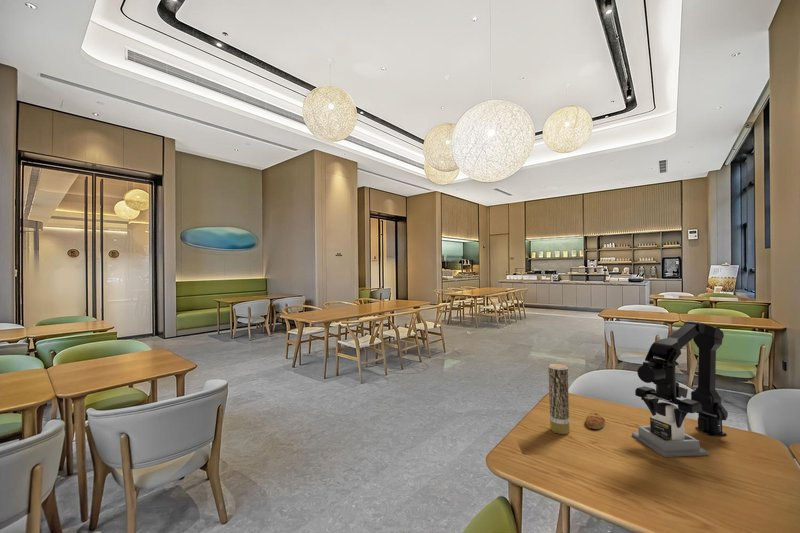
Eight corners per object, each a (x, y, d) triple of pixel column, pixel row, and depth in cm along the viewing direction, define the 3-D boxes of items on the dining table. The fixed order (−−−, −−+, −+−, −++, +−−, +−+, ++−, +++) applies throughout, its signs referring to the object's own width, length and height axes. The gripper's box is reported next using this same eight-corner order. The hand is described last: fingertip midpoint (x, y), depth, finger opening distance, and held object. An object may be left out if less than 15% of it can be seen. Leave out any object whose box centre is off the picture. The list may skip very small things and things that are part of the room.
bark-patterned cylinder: (565, 427, 137) (563, 363, 137) (572, 435, 130) (570, 368, 130) (547, 427, 137) (546, 363, 138) (553, 435, 131) (551, 368, 131)
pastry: (603, 432, 132) (602, 422, 132) (583, 428, 136) (582, 418, 136) (605, 423, 140) (605, 414, 140) (586, 419, 144) (586, 410, 144)
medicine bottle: (650, 436, 124) (648, 402, 124) (663, 432, 126) (662, 399, 126) (671, 445, 117) (670, 409, 117) (685, 441, 120) (684, 406, 120)
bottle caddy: (671, 434, 129) (671, 423, 129) (708, 455, 114) (707, 442, 114) (632, 435, 129) (631, 424, 129) (663, 456, 114) (663, 444, 114)
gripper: (711, 383, 116) (713, 430, 116) (653, 369, 134) (654, 409, 133) (690, 388, 112) (692, 436, 112) (633, 372, 130) (634, 414, 129)
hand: (667, 423), depth 122 cm, fingers closed on medicine bottle, 7 cm apart
